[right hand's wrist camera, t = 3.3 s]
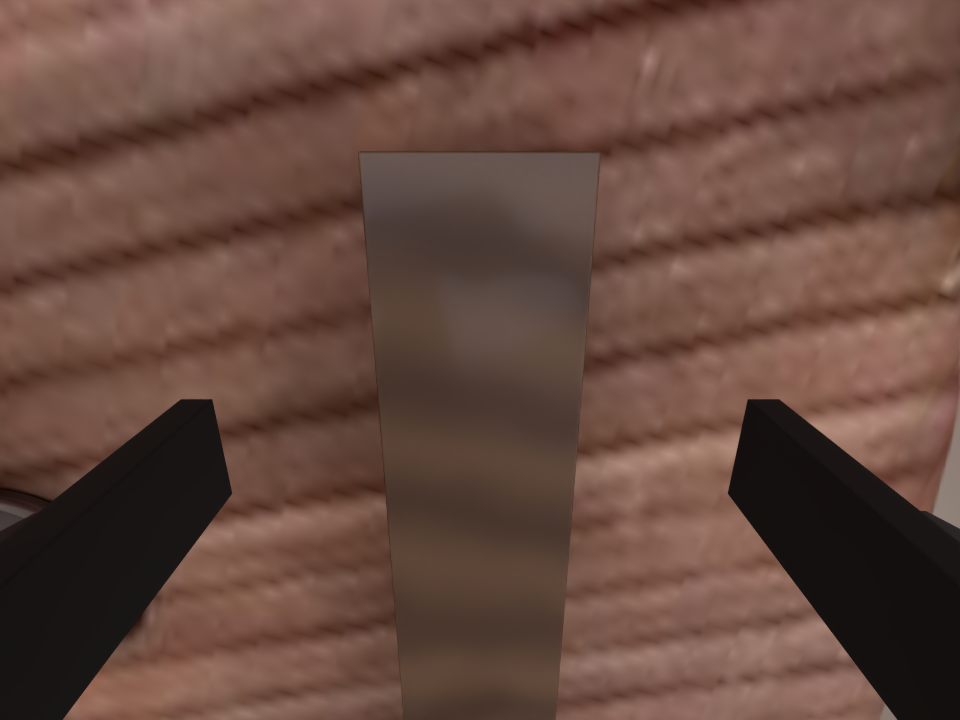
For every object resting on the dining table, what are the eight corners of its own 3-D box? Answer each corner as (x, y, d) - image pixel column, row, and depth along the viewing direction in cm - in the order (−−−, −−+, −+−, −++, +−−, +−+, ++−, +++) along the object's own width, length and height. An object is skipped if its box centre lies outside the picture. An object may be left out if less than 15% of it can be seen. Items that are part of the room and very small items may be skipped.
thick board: (392, 154, 25) (357, 151, 18) (566, 154, 25) (601, 151, 18) (436, 916, 51) (429, 1040, 44) (523, 916, 51) (530, 1040, 44)
